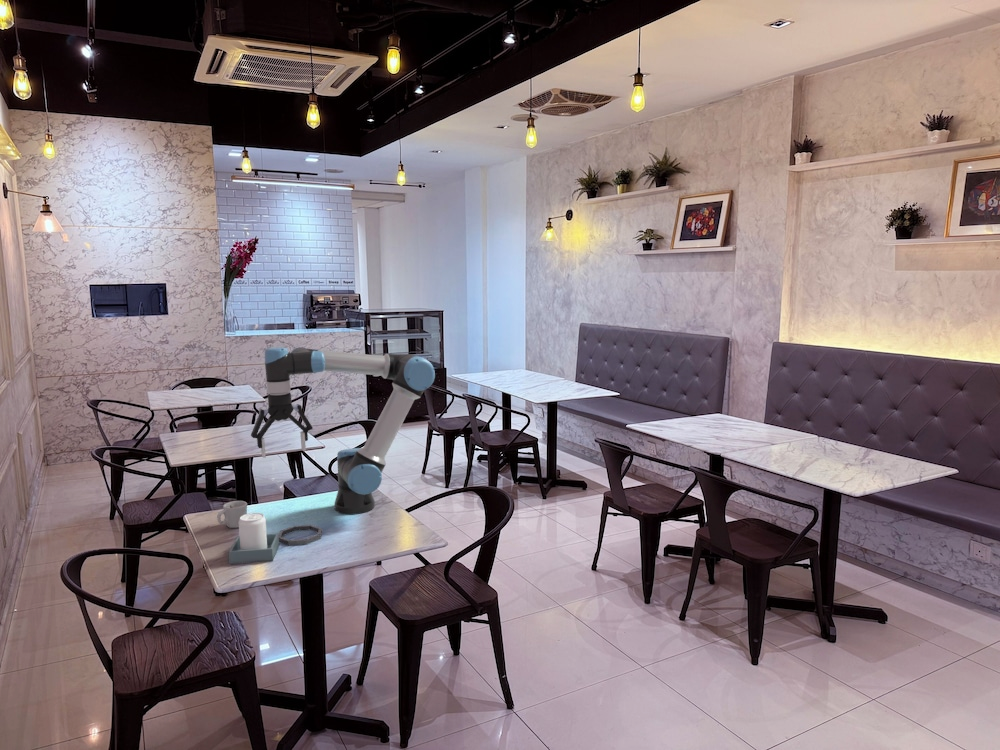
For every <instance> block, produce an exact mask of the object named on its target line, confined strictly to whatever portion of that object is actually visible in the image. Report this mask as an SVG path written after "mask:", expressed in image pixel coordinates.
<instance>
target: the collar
mask: <svg viewBox="0 0 1000 750" xmlns="http://www.w3.org/2000/svg"><path fill="white" fill-rule="evenodd" d="M299 531H300V532H301V531H311V532H314V533H317V534H315V535H312V536H310V537H307V538H302V539H301V538H300V539H288V538H286V537H284V536H285V535H288V534H291V533H293V532H299ZM278 534H279V544H284V545H286V546H301V545H302V546H304V545H308V544H312V543H314V542H316V541H319V540H321V538H322V535H323V528H322V527H319V526H316V525H314V524H306V525H305V524H302V525H292V526H291V527H287V528H285V529H283V530H280V531H279V533H278Z"/></svg>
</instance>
